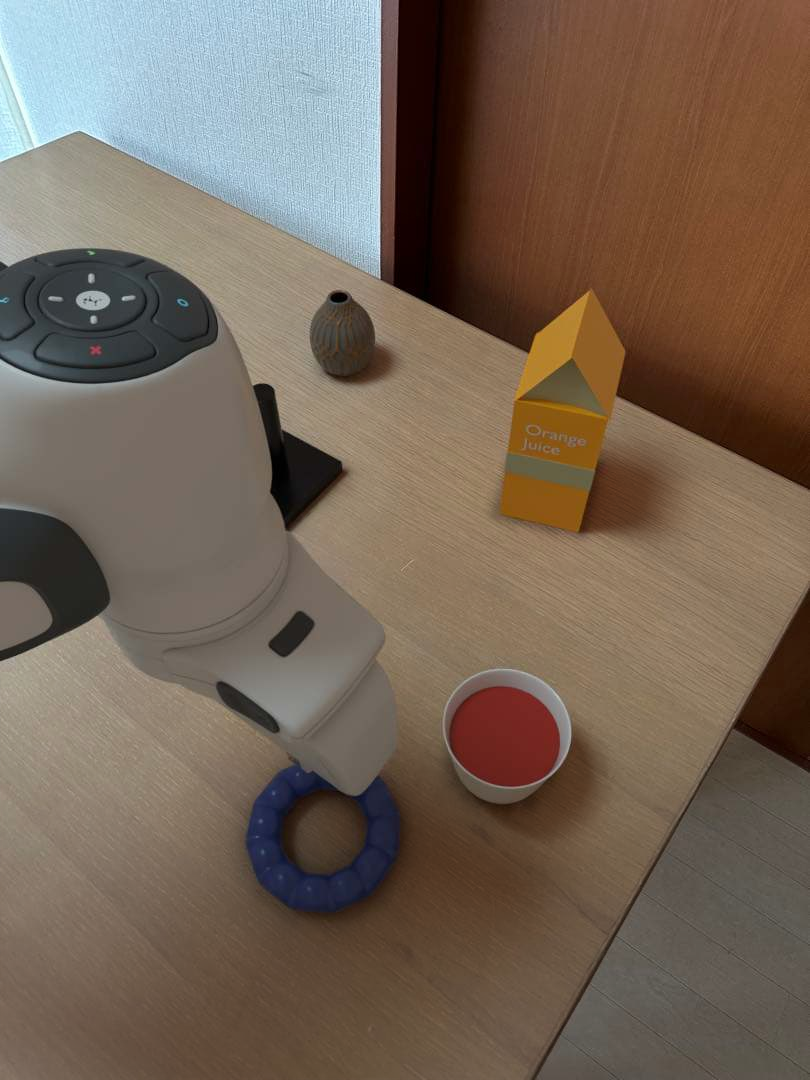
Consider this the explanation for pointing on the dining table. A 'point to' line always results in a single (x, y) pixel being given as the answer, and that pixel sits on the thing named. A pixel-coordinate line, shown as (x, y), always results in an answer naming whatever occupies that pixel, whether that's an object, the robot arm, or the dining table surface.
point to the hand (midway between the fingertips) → (247, 712)
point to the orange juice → (562, 416)
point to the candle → (505, 734)
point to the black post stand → (293, 461)
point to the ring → (311, 887)
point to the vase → (342, 335)
